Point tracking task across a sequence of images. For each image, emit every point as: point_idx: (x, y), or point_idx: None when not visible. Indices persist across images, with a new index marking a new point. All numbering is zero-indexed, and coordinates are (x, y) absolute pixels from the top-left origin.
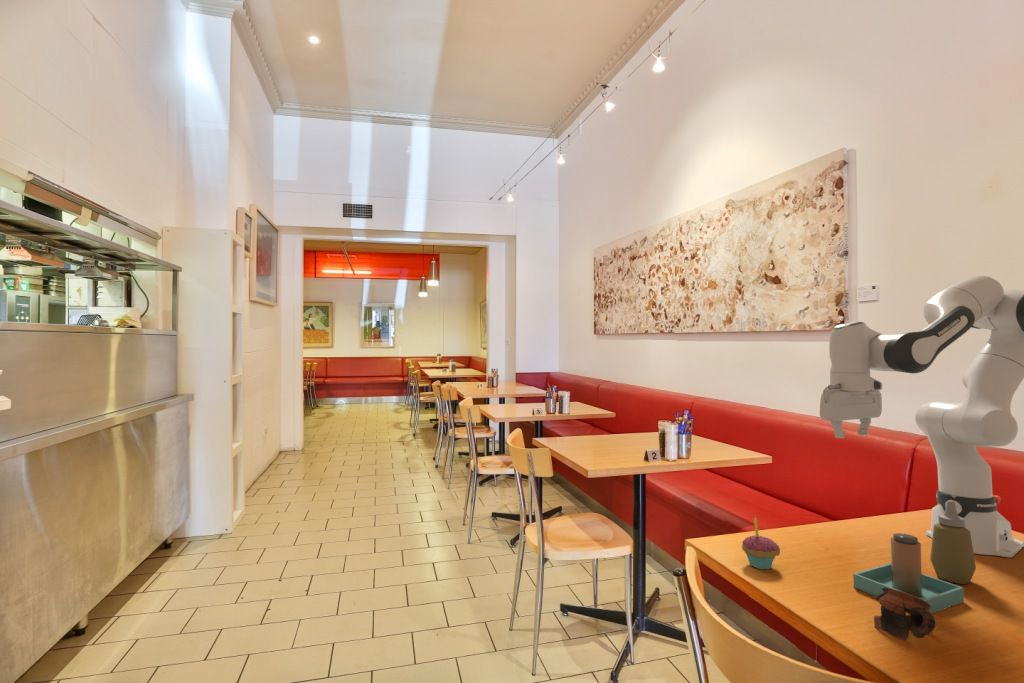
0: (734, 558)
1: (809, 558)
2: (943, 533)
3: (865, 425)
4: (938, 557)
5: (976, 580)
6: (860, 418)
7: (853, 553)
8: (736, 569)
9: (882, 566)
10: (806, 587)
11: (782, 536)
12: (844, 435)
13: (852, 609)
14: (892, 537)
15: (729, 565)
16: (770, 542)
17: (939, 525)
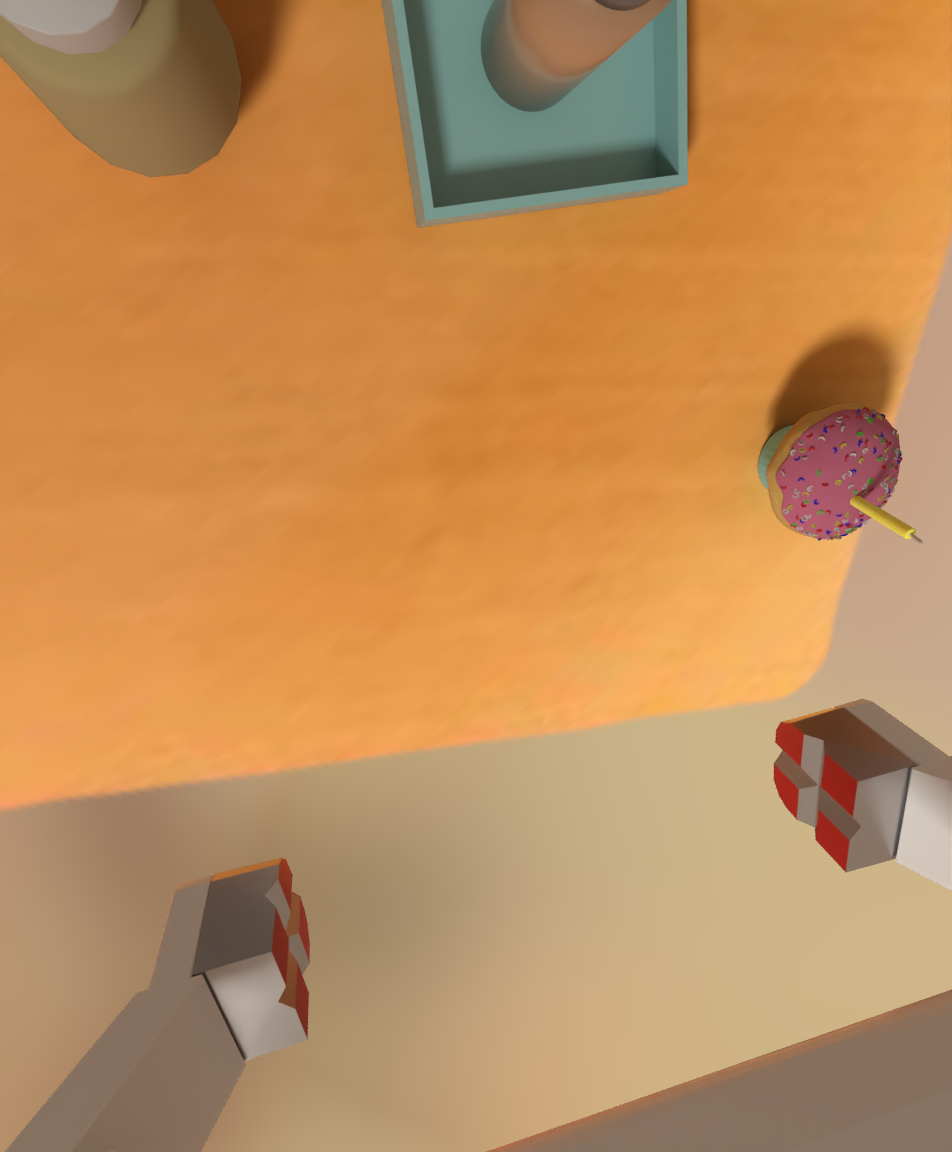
0: None
1: (576, 472)
2: None
3: (163, 1082)
4: (231, 71)
5: None
6: (572, 1131)
7: (360, 472)
8: None
9: (502, 202)
10: (807, 255)
11: (488, 680)
12: (816, 731)
13: (832, 39)
14: (627, 27)
15: None
16: (854, 441)
17: (149, 19)
